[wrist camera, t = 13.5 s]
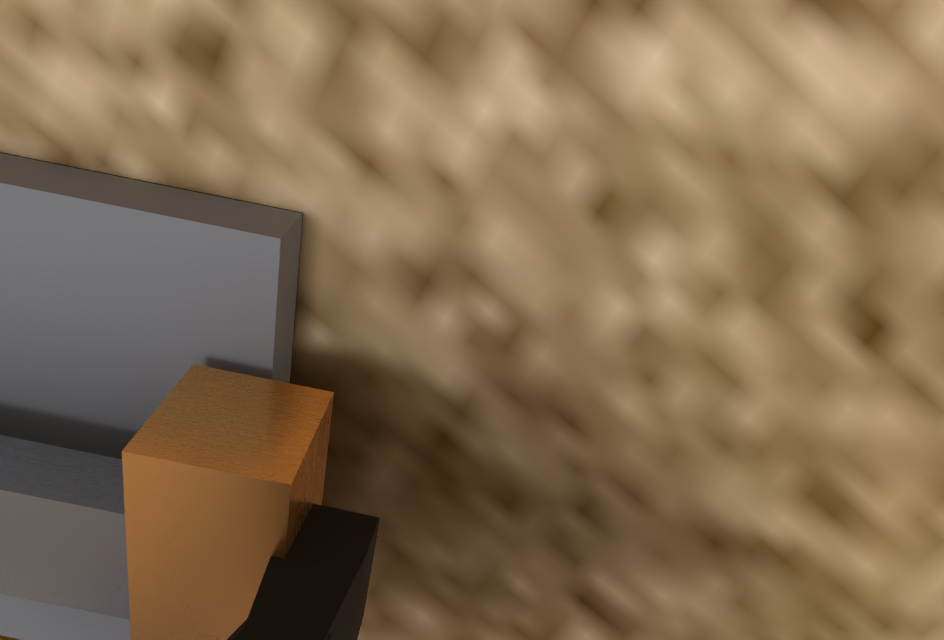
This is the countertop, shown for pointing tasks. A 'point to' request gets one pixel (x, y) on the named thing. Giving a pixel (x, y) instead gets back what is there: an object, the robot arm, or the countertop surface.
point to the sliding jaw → (168, 507)
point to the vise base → (126, 318)
